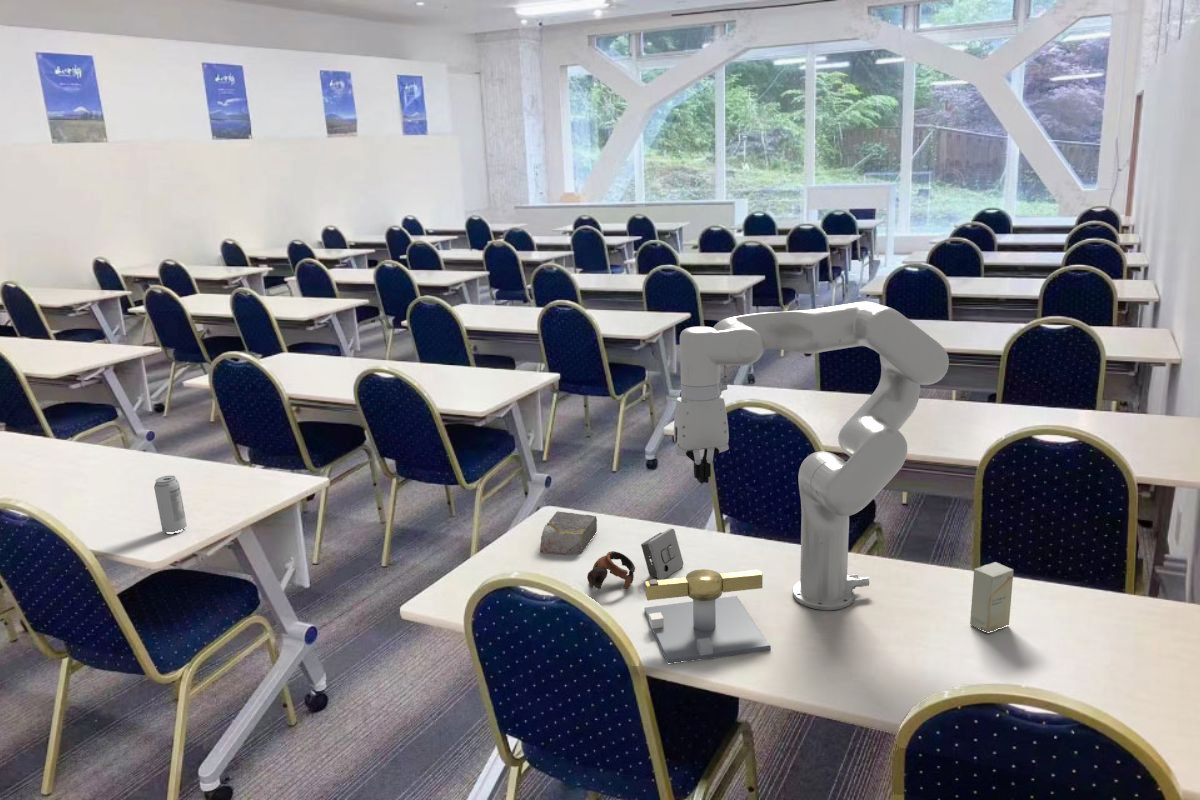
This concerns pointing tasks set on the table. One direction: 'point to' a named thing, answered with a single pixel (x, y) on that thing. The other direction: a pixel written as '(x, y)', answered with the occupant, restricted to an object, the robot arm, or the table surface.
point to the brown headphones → (611, 570)
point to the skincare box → (991, 596)
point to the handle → (703, 585)
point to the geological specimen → (568, 533)
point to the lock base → (721, 636)
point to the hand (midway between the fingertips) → (702, 480)
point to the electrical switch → (662, 554)
